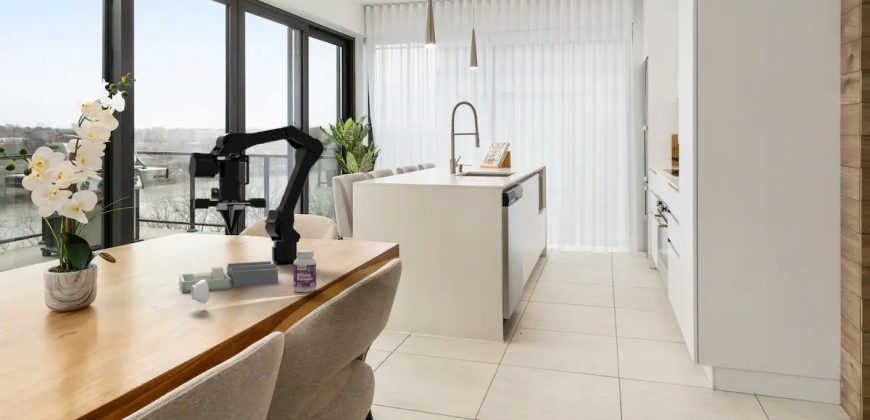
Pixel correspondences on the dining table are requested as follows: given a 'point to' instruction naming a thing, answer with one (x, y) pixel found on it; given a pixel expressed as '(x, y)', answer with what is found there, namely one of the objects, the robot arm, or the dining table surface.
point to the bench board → (252, 273)
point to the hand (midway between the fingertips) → (230, 234)
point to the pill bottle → (304, 272)
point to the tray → (216, 284)
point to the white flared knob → (200, 291)
